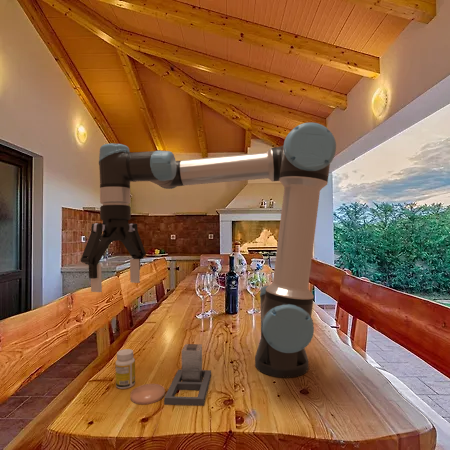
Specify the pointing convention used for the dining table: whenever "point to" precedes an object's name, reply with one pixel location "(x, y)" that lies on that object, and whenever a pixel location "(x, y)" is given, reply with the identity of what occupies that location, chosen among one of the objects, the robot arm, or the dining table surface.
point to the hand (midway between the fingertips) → (117, 286)
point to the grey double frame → (178, 385)
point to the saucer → (147, 394)
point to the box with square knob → (192, 363)
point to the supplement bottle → (125, 369)
